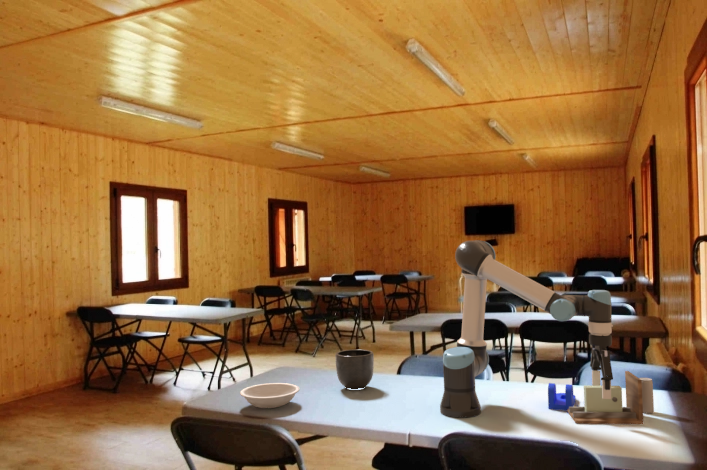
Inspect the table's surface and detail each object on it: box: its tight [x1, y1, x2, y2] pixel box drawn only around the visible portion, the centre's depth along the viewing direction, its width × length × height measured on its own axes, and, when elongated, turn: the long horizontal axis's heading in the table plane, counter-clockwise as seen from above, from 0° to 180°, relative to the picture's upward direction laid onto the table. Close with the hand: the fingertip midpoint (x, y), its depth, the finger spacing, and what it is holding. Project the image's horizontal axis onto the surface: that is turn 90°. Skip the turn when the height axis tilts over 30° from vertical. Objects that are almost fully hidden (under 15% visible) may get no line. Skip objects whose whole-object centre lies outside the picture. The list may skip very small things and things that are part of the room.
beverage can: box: [638, 377, 655, 415], centre depth 209 cm, size 5×5×12 cm
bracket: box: [547, 382, 577, 412], centre depth 223 cm, size 18×8×9 cm, turn 154°
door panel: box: [583, 385, 623, 412], centre depth 204 cm, size 12×4×10 cm, turn 81°
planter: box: [334, 348, 375, 389], centre depth 257 cm, size 17×17×16 cm
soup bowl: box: [239, 382, 300, 409], centre depth 233 cm, size 24×24×7 cm
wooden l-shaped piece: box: [566, 370, 644, 425], centre depth 204 cm, size 22×14×15 cm, turn 81°
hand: (601, 393), depth 204 cm, fingers open, 13 cm apart
